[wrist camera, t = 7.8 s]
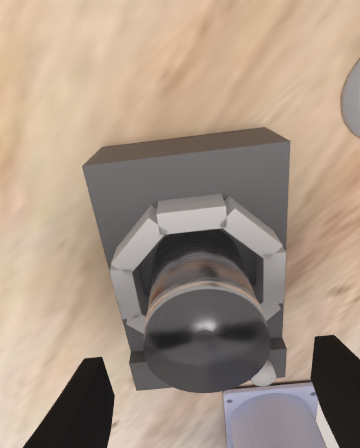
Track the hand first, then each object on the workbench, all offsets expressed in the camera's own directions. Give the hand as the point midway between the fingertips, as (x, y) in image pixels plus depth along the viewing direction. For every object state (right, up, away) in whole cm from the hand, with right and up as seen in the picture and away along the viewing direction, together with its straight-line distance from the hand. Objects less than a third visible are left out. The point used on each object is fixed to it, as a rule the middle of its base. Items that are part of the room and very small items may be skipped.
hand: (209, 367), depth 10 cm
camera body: (0, +4, +9) cm, 10 cm away
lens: (0, +3, +5) cm, 6 cm away
